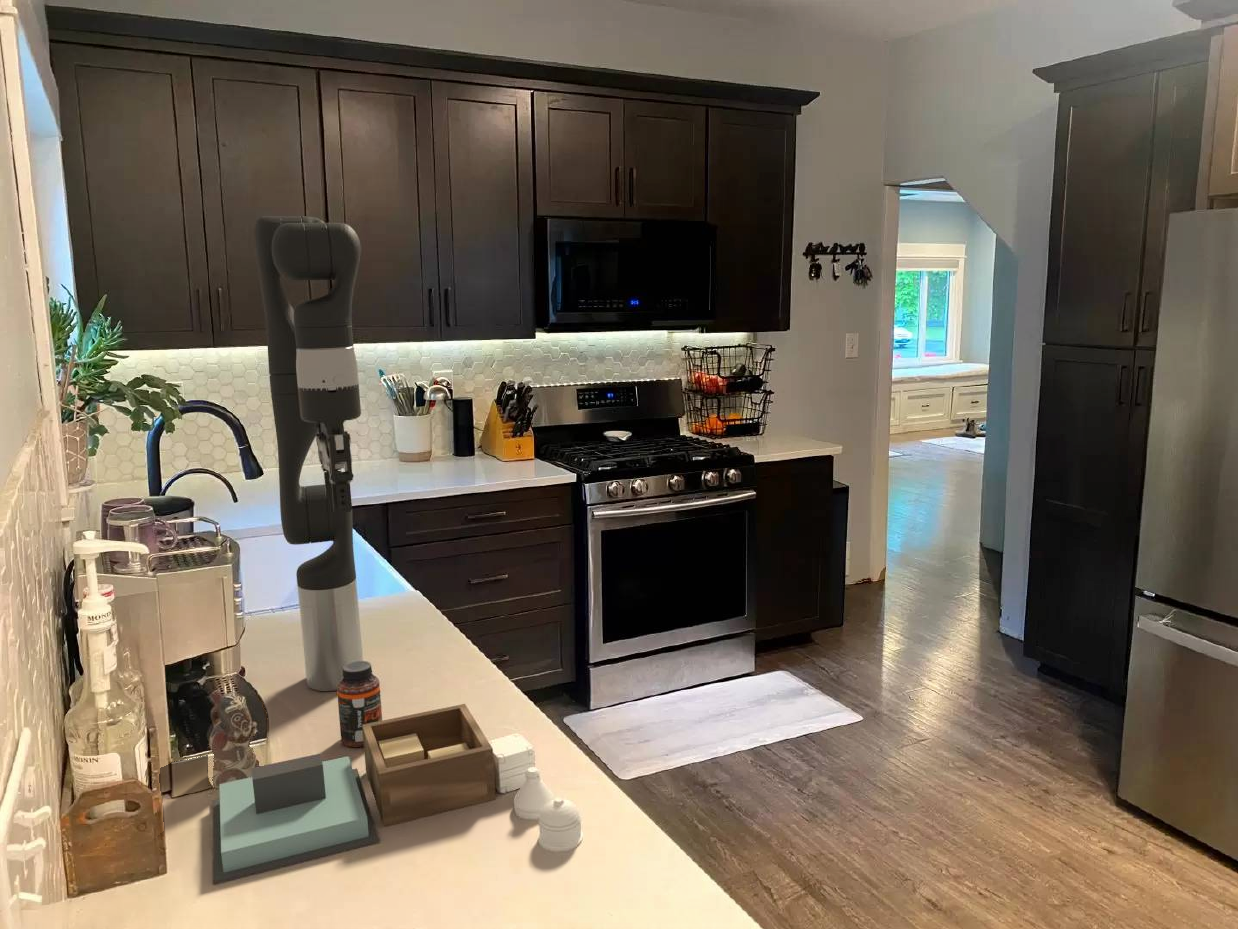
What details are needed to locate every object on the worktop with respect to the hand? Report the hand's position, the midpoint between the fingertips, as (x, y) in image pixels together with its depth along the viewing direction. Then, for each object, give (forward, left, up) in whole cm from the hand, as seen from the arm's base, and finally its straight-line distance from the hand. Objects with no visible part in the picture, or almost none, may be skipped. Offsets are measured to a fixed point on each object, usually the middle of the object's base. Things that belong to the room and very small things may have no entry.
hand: (338, 505), depth 122 cm
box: (+12, +7, -36) cm, 39 cm away
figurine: (-2, -16, -36) cm, 40 cm away
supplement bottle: (-5, +1, -36) cm, 37 cm away
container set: (+23, +18, -36) cm, 47 cm away
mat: (+13, -10, -36) cm, 40 cm away
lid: (+13, -10, -36) cm, 39 cm away
